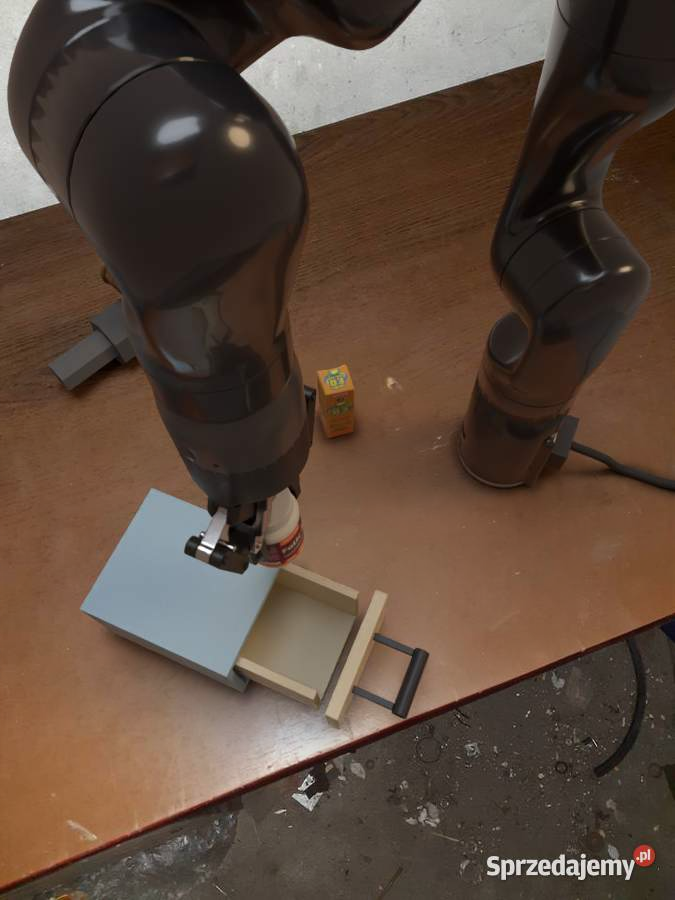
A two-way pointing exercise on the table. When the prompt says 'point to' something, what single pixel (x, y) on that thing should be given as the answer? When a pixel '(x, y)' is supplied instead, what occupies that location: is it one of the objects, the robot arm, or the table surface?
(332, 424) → the supplement box
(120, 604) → the blue drawer cabinet
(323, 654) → the drawer
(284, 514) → the pill bottle
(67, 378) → the mechanical component
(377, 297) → the table surface
